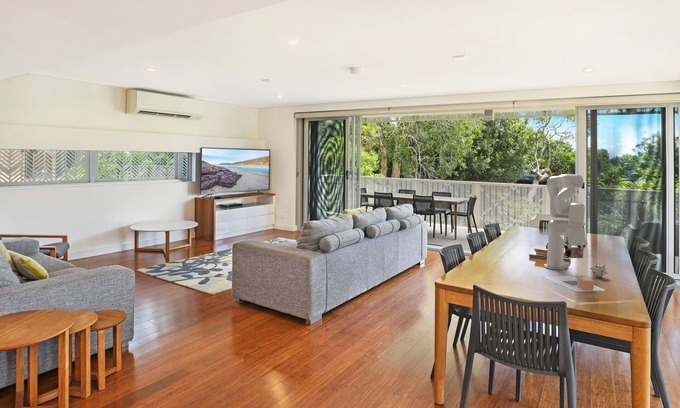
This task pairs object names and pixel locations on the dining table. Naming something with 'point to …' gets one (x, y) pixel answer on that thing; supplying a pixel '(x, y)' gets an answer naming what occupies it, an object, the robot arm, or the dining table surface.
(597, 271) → the grey spiky ball
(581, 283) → the terracotta block
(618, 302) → the dining table surface
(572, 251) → the walnut block
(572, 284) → the blueprint board
